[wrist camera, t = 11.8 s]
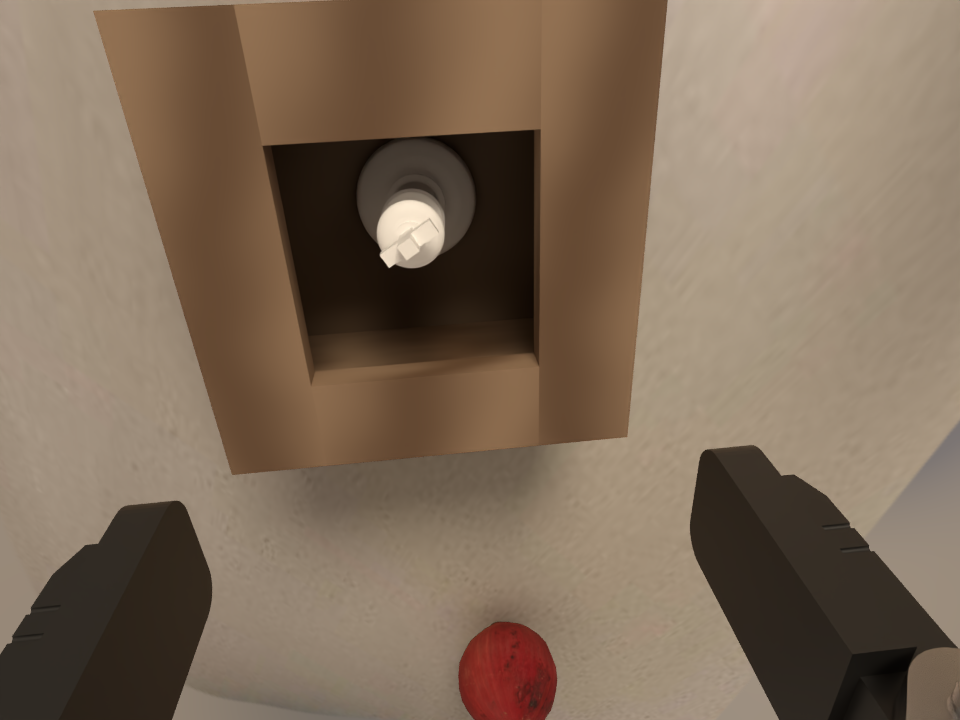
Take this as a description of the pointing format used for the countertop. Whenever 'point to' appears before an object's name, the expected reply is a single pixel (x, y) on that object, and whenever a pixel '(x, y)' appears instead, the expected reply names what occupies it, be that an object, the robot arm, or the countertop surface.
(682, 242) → the countertop surface
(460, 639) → the countertop surface
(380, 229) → the chess piece
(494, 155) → the drop box
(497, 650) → the red oval fruit
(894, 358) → the countertop surface
